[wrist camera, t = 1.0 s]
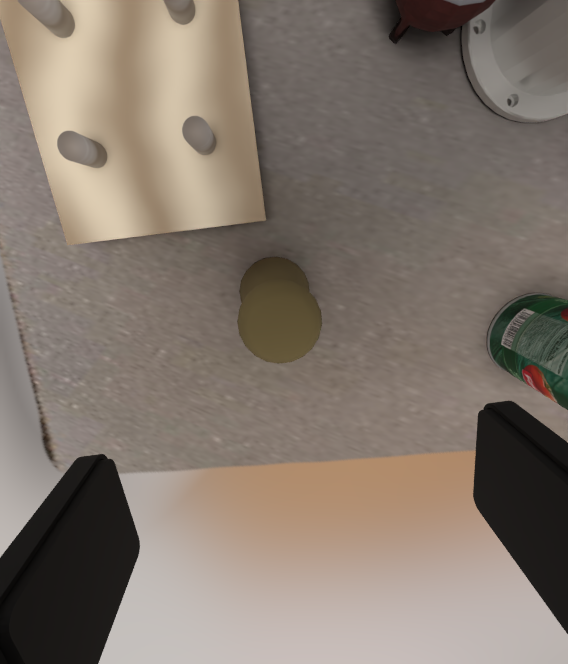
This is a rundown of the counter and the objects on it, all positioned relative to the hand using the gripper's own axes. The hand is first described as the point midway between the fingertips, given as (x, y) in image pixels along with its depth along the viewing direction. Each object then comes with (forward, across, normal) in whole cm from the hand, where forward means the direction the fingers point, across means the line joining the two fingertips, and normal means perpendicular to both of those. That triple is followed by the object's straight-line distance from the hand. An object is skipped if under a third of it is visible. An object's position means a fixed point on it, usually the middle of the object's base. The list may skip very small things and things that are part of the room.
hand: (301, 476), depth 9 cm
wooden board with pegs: (+23, +7, -15) cm, 28 cm away
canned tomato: (+24, -23, +7) cm, 34 cm away
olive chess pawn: (+23, 0, 0) cm, 23 cm away
